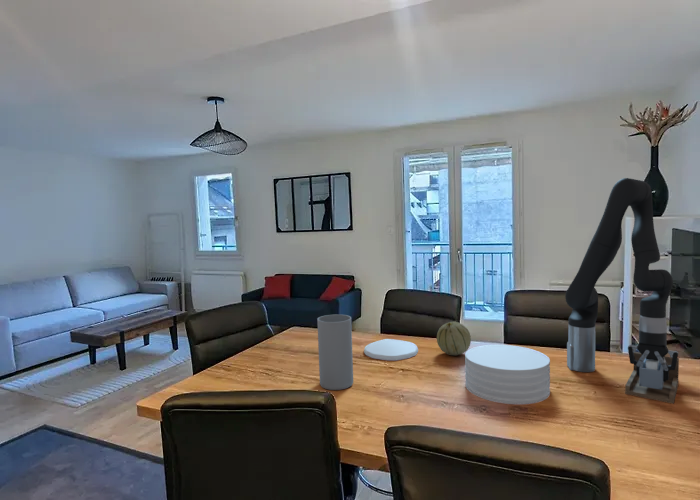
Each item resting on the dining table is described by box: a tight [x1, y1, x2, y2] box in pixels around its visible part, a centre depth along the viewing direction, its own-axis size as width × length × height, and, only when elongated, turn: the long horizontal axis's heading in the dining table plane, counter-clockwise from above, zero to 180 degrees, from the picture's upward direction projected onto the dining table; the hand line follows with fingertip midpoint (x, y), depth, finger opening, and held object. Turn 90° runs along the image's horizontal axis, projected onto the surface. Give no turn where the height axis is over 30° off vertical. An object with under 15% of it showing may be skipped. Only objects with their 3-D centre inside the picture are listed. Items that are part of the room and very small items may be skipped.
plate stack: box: [464, 344, 551, 405], centre depth 151 cm, size 28×28×12 cm
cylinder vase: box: [316, 314, 354, 391], centre depth 158 cm, size 12×12×25 cm
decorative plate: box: [363, 338, 419, 361], centre depth 197 cm, size 25×4×25 cm
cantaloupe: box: [436, 321, 472, 356], centre depth 188 cm, size 15×15×15 cm
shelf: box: [624, 351, 680, 405], centre depth 145 cm, size 20×13×9 cm, turn 139°
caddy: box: [639, 358, 664, 390], centre depth 142 cm, size 12×6×8 cm, turn 140°
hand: (652, 378), depth 142 cm, fingers closed on caddy, 6 cm apart
